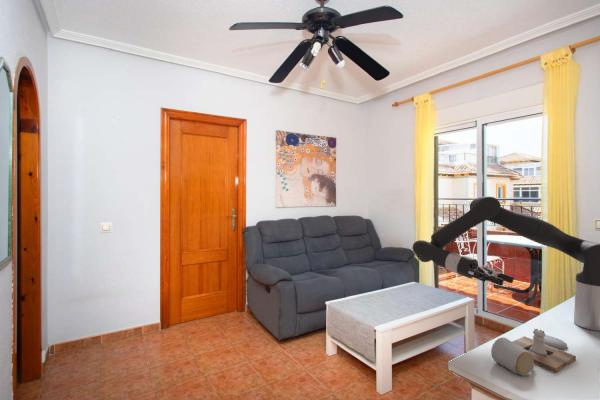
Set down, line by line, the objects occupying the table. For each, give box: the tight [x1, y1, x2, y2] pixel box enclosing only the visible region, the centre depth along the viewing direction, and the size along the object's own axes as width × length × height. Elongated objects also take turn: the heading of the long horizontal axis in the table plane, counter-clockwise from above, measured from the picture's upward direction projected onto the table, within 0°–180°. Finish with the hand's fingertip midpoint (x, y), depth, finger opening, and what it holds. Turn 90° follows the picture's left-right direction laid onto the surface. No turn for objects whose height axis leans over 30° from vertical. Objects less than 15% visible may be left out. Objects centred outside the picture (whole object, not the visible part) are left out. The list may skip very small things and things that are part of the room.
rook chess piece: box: [529, 328, 548, 358], centre depth 95 cm, size 4×4×8 cm
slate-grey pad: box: [532, 334, 568, 351], centre depth 103 cm, size 9×9×1 cm
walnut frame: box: [512, 335, 577, 374], centre depth 95 cm, size 14×14×1 cm
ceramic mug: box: [490, 337, 536, 376], centre depth 87 cm, size 11×8×8 cm
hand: (508, 281), depth 102 cm, fingers open, 8 cm apart
